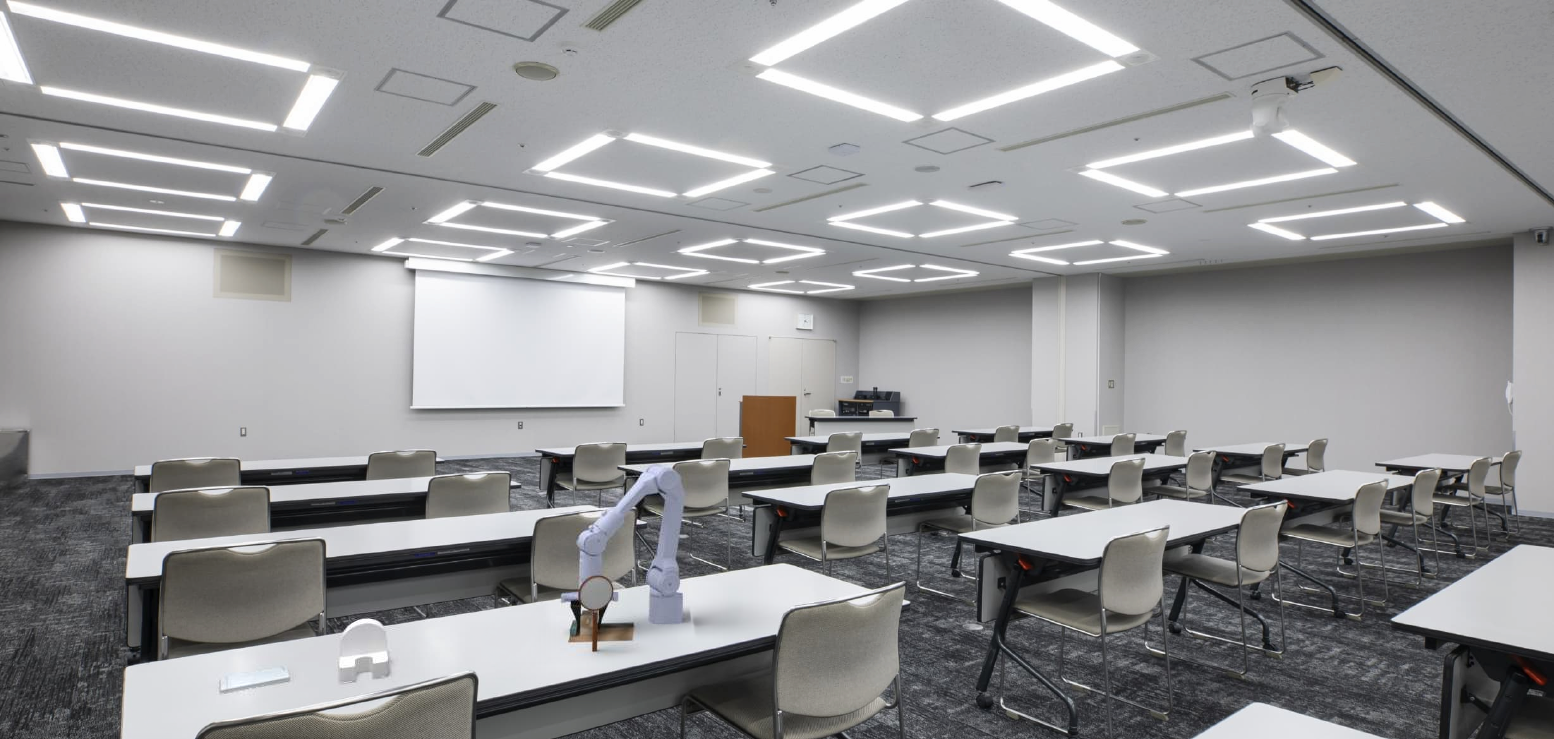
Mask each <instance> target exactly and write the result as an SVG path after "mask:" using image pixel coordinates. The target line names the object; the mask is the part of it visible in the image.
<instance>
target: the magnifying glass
mask: <svg viewBox="0 0 1554 739" xmlns="http://www.w3.org/2000/svg"><path fill="white" fill-rule="evenodd" d="M577 592H578V598H579V602H580V604H581V607H583V608H584V610H590V611H594V612H593V634H592V642H591V643H592V644H591V651H592V653H593V652H594V653H596V652H598V642H597V633H598V612H597V610H601V609H603V608H604V607H606V606H607V605H608V606H609V604H610V603H611V602H612V601H611V599H612V597H613V592H614V586H613V583H612V581H611V580H610V579H609V578H608V577H606V576H603V575H602V576H601V575H595V576H591V577H589V578H587V579H586V580H585V581H584V582H583V583H582V585H581V586H580V588H579V587H578V591H577Z"/></svg>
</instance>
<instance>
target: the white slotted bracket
mask: <svg viewBox="0 0 1554 739" xmlns="http://www.w3.org/2000/svg"><path fill="white" fill-rule="evenodd" d="M387 636H388V635H387V631H386V629H385V626H384V625H383V624H382V622H380V621H378V620H376V619H372V618H360V619H358V620H355V621H354V622H351V623H350V624H349V625H348V626H347V627H346V628H345V629H344V630H343V632H342V634H341V636H340V641H339V642H340V643H339V664H338V666H339V667H338V669H339V671H338V682H339V681H340V682H347V681H348V682H349V681H354V682H355V675H357V674H359V673H364V672H370V673H372V679H373V678H375V679H380V678H379V677H382V676H386V675H387V676H388V674H389V673H388V672H389V671H388V670H389V669H388V668H389V657H388V637H387ZM387 676H386V677H387ZM382 678H383V677H382ZM349 683H350V682H349Z"/></svg>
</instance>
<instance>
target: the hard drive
mask: <svg viewBox="0 0 1554 739" xmlns="http://www.w3.org/2000/svg"><path fill="white" fill-rule="evenodd" d="M290 679H291V678H290V672H289V669H288V665H283V666H276V667H272V668H266V669H261V670H255V671H254V670H253V671H249V672H243V673H238V674H237V673H236V674H232V675H227V676H222V677H219V685H220V686H219V689H220V690H219V692H220V693H225V694H227V693H226V692H231V693H234V692H233V691H236V692H238V691H237V690H242V691H245V689H247V690H250V689H249V688H252V689H257V688H256V687H258V688H262V686H263V687H267V685H268V686H274V685H277V684H283V683H290V682H291V680H290ZM220 693H219V694H220Z"/></svg>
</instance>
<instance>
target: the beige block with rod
mask: <svg viewBox="0 0 1554 739" xmlns="http://www.w3.org/2000/svg"><path fill="white" fill-rule="evenodd" d="M593 612H594V611H590V610H587V609H584V610H583V609H582V610H581V622H580V636H590V635H592V634H593ZM597 612H598V610H597Z"/></svg>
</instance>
